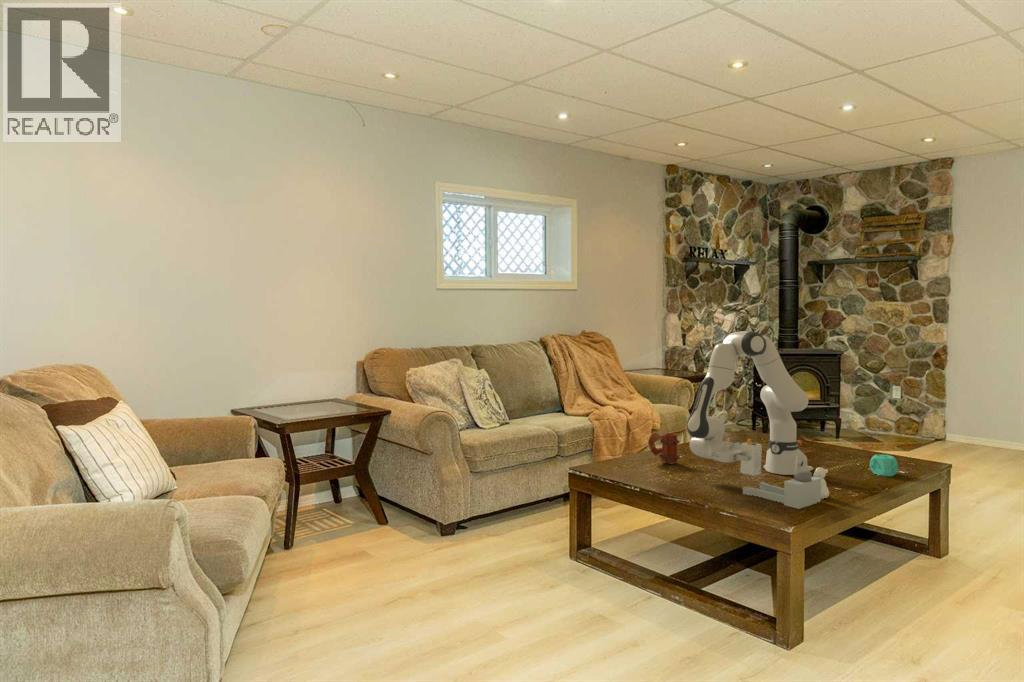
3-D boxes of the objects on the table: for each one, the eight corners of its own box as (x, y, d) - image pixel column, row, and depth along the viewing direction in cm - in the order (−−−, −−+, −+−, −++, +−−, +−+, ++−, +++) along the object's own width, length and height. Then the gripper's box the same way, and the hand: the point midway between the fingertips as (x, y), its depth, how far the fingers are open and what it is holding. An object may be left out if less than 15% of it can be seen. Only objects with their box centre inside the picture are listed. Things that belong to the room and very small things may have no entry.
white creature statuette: (816, 492, 272) (817, 462, 271) (836, 497, 264) (836, 467, 263) (800, 495, 267) (801, 465, 266) (820, 501, 259) (820, 470, 259)
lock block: (747, 471, 278) (748, 437, 277) (760, 474, 273) (761, 440, 273) (740, 472, 275) (741, 439, 274) (753, 475, 270) (754, 441, 270)
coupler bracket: (762, 487, 279) (763, 458, 278) (820, 501, 259) (821, 470, 258) (740, 493, 270) (741, 464, 270) (798, 508, 250) (799, 476, 250)
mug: (678, 461, 325) (678, 430, 325) (681, 465, 317) (681, 434, 317) (647, 461, 327) (647, 430, 326) (649, 465, 319) (649, 433, 318)
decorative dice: (885, 477, 294) (885, 459, 293) (869, 473, 301) (869, 455, 301) (898, 475, 297) (898, 457, 296) (882, 471, 304) (882, 453, 304)
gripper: (708, 447, 278) (737, 453, 267) (739, 441, 290) (767, 447, 279) (708, 462, 278) (737, 469, 267) (738, 456, 290) (767, 462, 279)
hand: (753, 457), depth 273 cm, fingers closed on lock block, 5 cm apart
